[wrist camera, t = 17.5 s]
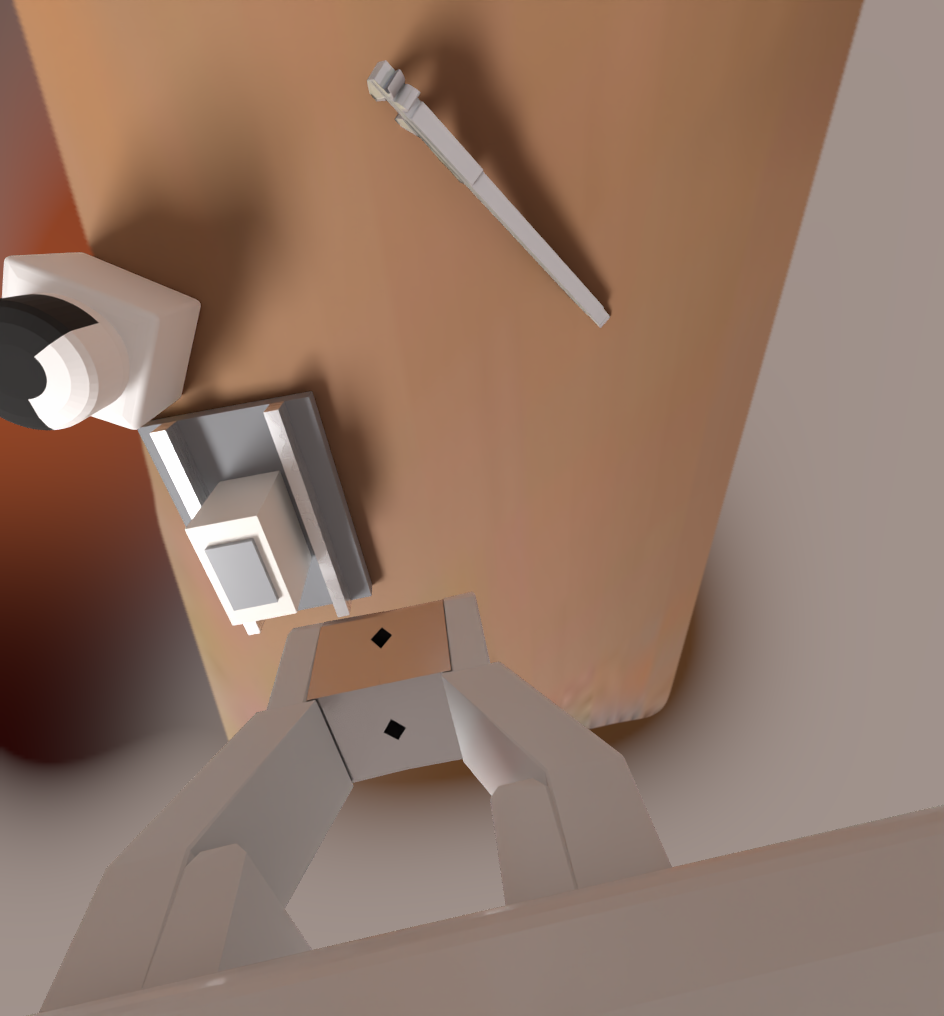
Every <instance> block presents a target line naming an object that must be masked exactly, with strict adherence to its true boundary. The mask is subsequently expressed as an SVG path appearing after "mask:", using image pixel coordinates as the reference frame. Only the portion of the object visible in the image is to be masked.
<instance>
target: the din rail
mask: <svg viewBox="0 0 944 1016" xmlns="http://www.w3.org/2000/svg"><path fill="white" fill-rule="evenodd" d="M263 413H264V416H265V419H266V422H267V424H268V427H269V430H270V432H271V435H272V438H273V441H274V443H275V446H276V449H277V452H278V454H279V457H280V460H281V463H282V465H283V468H284V471H285V474H286V476H287V479H288V482H289V485H290V487H291V490H292V493H293V495H294V498H295V501H296V504H297V506H298V509H299V512H300V515H301V517H302V520H303V523H304V526H305V528H306V531H307V534H308V537H309V539H310V542H311V545H312V548H313V550H314V553H315V556H316V558H317V561H318V564H319V567H320V569H321V572H322V575H323V578H324V580H325V583H326V586H327V589H328V591H329V594H330V597H331V600H332V602H333V605H334V608H335V611H336V613H337V616H338V617H341V616H346V615H350V609H351V601H352V599H351V596H350V593H349V591H348V588H347V585H346V582H345V579H344V576H343V573H342V570H341V567H340V564H339V561H338V558H337V555H336V552H335V549H334V546H333V543H332V541H331V538H330V535H329V532H328V529H327V526H326V523H325V520H324V517H323V514H322V511H321V508H320V505H319V502H318V499H317V496H316V494H315V491H314V488H313V485H312V482H311V479H310V476H309V473H308V470H307V467H306V464H305V461H304V458H303V455H302V452H301V449H300V446H299V444H298V441H297V438H296V435H295V432H294V429H293V426H292V423H291V420H290V417H289V414H288V411H287V408H286V405H285V402H284V401H283V402H277V403H272V404H269V406H268V407H267V408H266V410H265V411H264V412H263ZM150 435H151V437H152V439H153V441H154V443H155V445H156V447H157V449H158V451H159V453H160V455H161V457H162V459H163V461H164V463H165V465H166V467H167V470H168V472H169V474H170V476H171V478H172V480H173V482H174V484H175V486H176V488H177V490H178V492H179V494H180V496H181V498H182V500H183V502H184V504H185V506H186V508H187V510H188V512H189V514H190V516H191V519H193V517H194V516H195V514H196V513H197V512H198V510H199V509H200V508H201V506H202V505H203V503H204V502H205V501H206V499H207V498H208V497H209V495H210V493H209V491H208V489H207V486H206V484H205V482H204V480H203V478H202V475H201V473H200V471H199V469H198V467H197V464H196V462H195V460H194V458H193V456H192V453H191V451H190V449H189V447H188V445H187V442H186V440H185V438H184V436H183V434H182V432H181V429H180V427H179V425H178V423H177V421H173V422H168V423H162V424H161V425H160V426H158V427H157V428H156V429H155V430H153V431H152V432H151V433H150ZM264 622H265V619H264V620H259V621H254V622H249V623H244V624H243V625H244V627H245V629H246V631H247V633H248V635H252V634H257V633H261V630H262V627H263V624H264Z"/></svg>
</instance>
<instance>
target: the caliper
mask: <svg viewBox="0 0 944 1016" xmlns="http://www.w3.org/2000/svg"><path fill="white" fill-rule="evenodd" d="M404 82H405V78H404V75H403V73H402V71H401V70H400V69H399V70H396V71H395V70H394V69H393V68H392V67H391V66H390V64H389V63H388V62H387V61H386V60H385V61H381V62H378V63H377V65H376V66H375V68H374V70H373V71H372V73H371V74H370V76H369V78H368V79H367V83H368V89H369V93H370V94H371V96H372V97H373V98H374V99H375V100H376V101H388V102H389V103H390V104H391V105H392V107H393V108H394V109H395V110H396V111H397V112H398V115H397V117H396V118H395V121H396V122H397V123H398V124H399V125H400V126H401V127H403V128H404V129H406V130H408V131H409V132H411V133H413V134H415V135H416V136H418V137H420V138H421V139H422V140H423V141H424V142H425V143H426V144H427V146H428V147H429V148H430V149H431V151H432V152H433V153H434V154H435V155H436V156H437V158H438V159H439V160H440V161H441V162H442V163H443V164H444V165H445V166H446V167H447V168H448V169H449V170H450V171H451V173H452V174H453V175H454V176H455V177H456V178H457V179H458V180H459V181H460V182H461V183H463V184H465V185H466V186H467V187H468V188H469V189H470V190H471V191H472V193H473V194H474V195H475V196H476V197H477V198H478V199H479V200H480V201H481V202H482V203H483V204H484V205H485V206H486V208H487V209H488V210H489V211H490V212H491V213H492V214H493V215H494V216H495V217H496V218H497V219H498V220H499V221H500V223H501V224H502V225H503V226H504V227H505V228H506V229H507V230H508V231H509V232H510V233H511V234H512V235H513V236H514V238H515V239H516V240H517V241H518V242H519V243H520V244H521V245H522V246H523V247H524V248H525V249H526V250H527V252H528V253H529V254H530V255H531V256H532V257H533V258H534V259H535V260H536V261H537V262H538V263H539V264H540V265H541V267H542V268H543V269H544V270H545V271H546V272H547V273H548V274H549V275H550V276H551V277H552V278H553V279H554V281H555V282H556V283H557V284H558V285H559V286H560V287H561V288H562V289H563V290H564V291H565V292H566V293H567V295H568V296H569V297H570V298H571V299H572V300H573V301H574V302H575V303H576V304H577V305H578V306H579V307H580V308H581V309H582V310H583V311H584V312H585V313H586V314H587V315H588V316H589V317H590V318H591V319H592V320H593V321H594V322H595V323H596V324H597V325H598V326H599V327H600V328H601V327H602V326H603V324H604V323H605V322H606V321H607V320H608V319H609V318H610V316H609V314H608V313H607V312H606V311H605V310H604V309H603V308H604V307H603V306H602V305H601V303H600V302H599V301H598V300H597V299H596V298H595V297H594V296H593V294H592V293H591V292H590V291H589V290H588V289H587V288H586V287H585V285H584V284H583V283H582V282H581V281H580V280H579V279H578V278H577V276H576V275H575V274H574V273H573V272H572V271H571V270H570V269H569V267H568V266H567V265H566V264H565V263H564V262H563V261H562V260H561V259H560V257H559V256H558V255H557V254H556V253H555V252H554V251H553V250H552V248H551V247H550V246H549V245H548V244H547V243H546V242H545V241H544V239H543V238H542V237H541V236H540V235H539V234H538V233H537V232H536V230H535V229H534V228H533V227H532V226H531V225H530V224H529V223H528V221H527V220H526V219H525V218H524V217H523V216H522V215H521V214H520V213H519V211H518V210H517V209H516V208H515V207H514V206H513V205H512V204H511V202H510V201H509V200H508V199H507V198H506V197H505V196H504V195H503V193H502V192H501V191H500V190H499V189H498V188H497V187H496V186H495V184H494V183H493V182H492V181H491V180H490V179H489V178H488V177H487V175H486V174H485V173H484V172H483V169H482V168H481V167H480V165H479V164H478V163H477V162H476V161H475V160H474V159H473V158H472V156H471V155H470V154H469V153H468V152H467V151H466V150H465V149H464V147H463V146H462V145H461V144H460V143H459V142H458V141H457V139H456V138H455V137H454V136H453V135H452V134H451V133H450V132H449V130H448V129H447V128H446V127H445V126H444V125H443V124H442V122H441V121H440V120H439V119H438V118H437V117H436V116H435V115H434V113H433V112H432V111H431V110H430V109H429V108H428V107H427V106H426V104H425V103H424V102H421V101H420V100H419V99H418V96H419V95H420V92H419V91H418V90H417V89H415V88H414V87H412V86H411V85H409V84H405V83H404Z"/></svg>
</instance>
